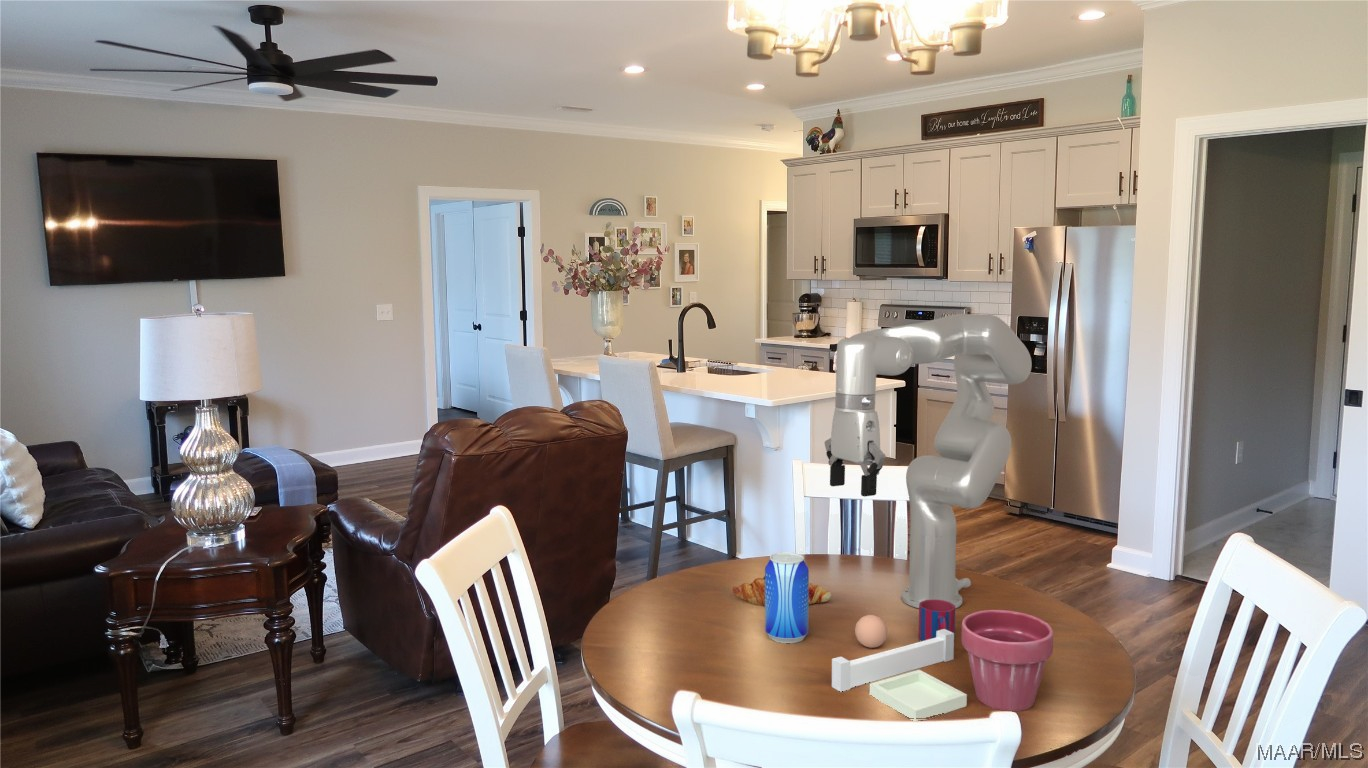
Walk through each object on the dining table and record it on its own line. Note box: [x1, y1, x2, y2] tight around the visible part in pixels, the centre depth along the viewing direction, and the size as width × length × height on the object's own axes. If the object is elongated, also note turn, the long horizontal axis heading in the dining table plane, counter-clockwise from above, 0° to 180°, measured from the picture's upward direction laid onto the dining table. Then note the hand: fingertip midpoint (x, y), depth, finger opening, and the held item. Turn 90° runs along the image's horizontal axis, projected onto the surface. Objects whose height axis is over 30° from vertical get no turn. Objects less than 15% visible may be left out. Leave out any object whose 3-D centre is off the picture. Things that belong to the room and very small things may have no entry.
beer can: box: [764, 551, 810, 644], centre depth 177 cm, size 8×8×16 cm
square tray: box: [869, 669, 968, 722], centre depth 151 cm, size 11×11×2 cm
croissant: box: [732, 575, 832, 607], centre depth 197 cm, size 21×10×8 cm, turn 86°
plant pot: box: [961, 609, 1054, 712], centre depth 150 cm, size 14×14×13 cm
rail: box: [831, 629, 955, 693], centre depth 161 cm, size 26×2×5 cm, turn 119°
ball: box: [854, 614, 888, 649], centre depth 173 cm, size 6×6×6 cm
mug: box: [918, 599, 956, 642], centre depth 174 cm, size 7×10×7 cm
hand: (852, 490), depth 176 cm, fingers open, 9 cm apart
